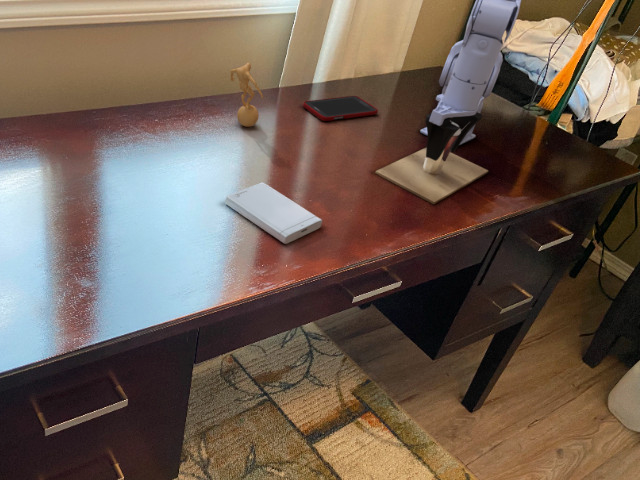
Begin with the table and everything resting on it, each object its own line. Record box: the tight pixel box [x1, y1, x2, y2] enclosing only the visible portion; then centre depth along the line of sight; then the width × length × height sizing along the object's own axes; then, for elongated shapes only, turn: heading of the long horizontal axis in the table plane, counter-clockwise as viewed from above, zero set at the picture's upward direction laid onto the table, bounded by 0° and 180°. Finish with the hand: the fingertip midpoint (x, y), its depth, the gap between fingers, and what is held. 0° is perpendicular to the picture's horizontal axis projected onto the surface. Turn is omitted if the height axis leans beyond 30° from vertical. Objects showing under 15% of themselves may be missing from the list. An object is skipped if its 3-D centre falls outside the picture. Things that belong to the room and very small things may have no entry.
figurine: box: [230, 62, 264, 128], centre depth 110 cm, size 8×6×12 cm
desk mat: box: [374, 146, 489, 205], centre depth 110 cm, size 20×12×1 cm, turn 136°
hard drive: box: [224, 181, 323, 245], centre depth 91 cm, size 2×8×12 cm
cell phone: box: [302, 95, 379, 122], centre depth 125 cm, size 8×15×1 cm, turn 121°
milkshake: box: [423, 121, 470, 175], centre depth 106 cm, size 4×5×10 cm
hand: (440, 153), depth 107 cm, fingers open, 6 cm apart
